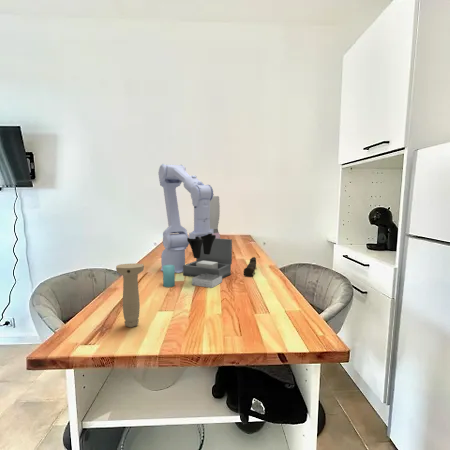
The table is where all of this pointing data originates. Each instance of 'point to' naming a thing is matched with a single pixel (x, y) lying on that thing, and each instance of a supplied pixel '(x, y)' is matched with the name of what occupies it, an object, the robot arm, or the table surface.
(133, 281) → the handle
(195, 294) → the table surface
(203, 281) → the white square frame
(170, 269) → the teal cylinder
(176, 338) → the table surface
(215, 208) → the blender
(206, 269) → the case
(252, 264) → the hand tool
